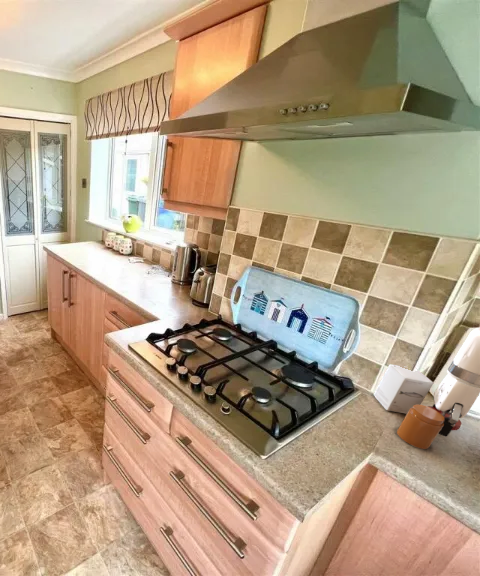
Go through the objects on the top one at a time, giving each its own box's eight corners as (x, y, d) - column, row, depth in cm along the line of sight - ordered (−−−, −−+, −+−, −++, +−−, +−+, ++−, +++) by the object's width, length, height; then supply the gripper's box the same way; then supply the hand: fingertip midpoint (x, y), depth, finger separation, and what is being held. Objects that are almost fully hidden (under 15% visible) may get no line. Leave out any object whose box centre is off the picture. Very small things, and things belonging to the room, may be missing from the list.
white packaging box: (386, 411, 94) (404, 377, 89) (372, 394, 100) (388, 363, 95) (414, 416, 92) (434, 383, 87) (398, 399, 99) (416, 367, 94)
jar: (426, 437, 85) (443, 411, 81) (431, 453, 80) (449, 426, 76) (395, 425, 88) (410, 399, 85) (398, 439, 84) (413, 413, 80)
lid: (419, 417, 86) (422, 413, 85) (424, 406, 90) (427, 402, 89) (457, 435, 80) (460, 430, 80) (460, 422, 84) (463, 418, 84)
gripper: (445, 354, 87) (416, 402, 94) (453, 382, 75) (419, 435, 82) (485, 366, 82) (451, 416, 89) (500, 398, 70) (460, 452, 77)
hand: (436, 424), depth 86 cm, fingers closed on lid, 7 cm apart
